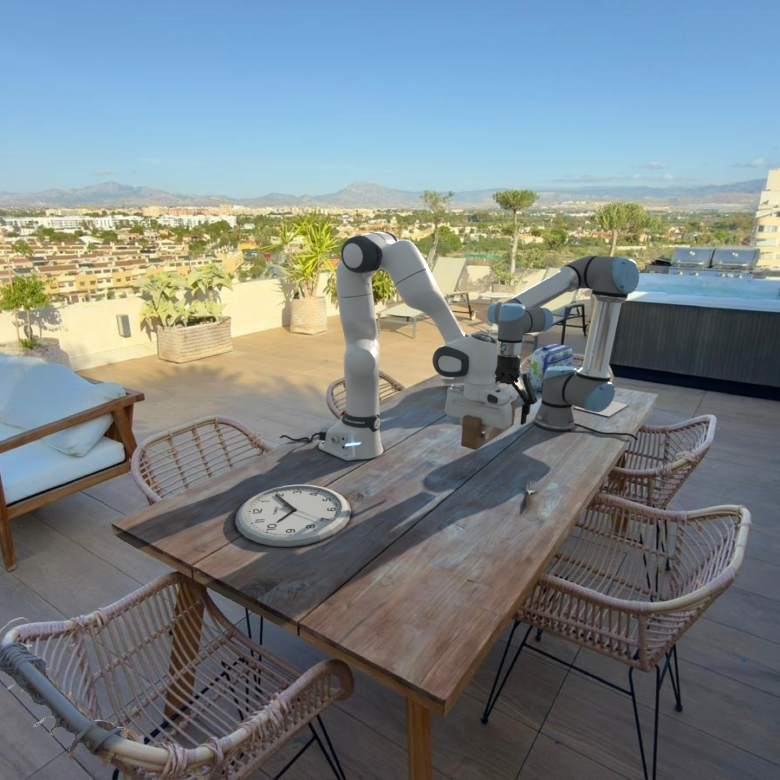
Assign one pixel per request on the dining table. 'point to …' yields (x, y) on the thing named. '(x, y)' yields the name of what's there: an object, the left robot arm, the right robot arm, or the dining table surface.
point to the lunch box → (548, 362)
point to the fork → (529, 490)
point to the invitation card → (608, 409)
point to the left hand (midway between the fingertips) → (475, 435)
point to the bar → (480, 430)
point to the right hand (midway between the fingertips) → (503, 418)
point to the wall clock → (293, 515)
